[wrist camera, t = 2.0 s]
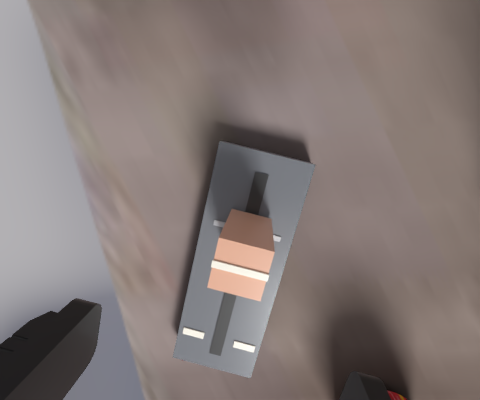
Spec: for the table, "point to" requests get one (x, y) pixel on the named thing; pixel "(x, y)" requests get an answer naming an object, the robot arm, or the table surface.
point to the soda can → (396, 396)
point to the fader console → (215, 215)
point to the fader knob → (243, 255)
